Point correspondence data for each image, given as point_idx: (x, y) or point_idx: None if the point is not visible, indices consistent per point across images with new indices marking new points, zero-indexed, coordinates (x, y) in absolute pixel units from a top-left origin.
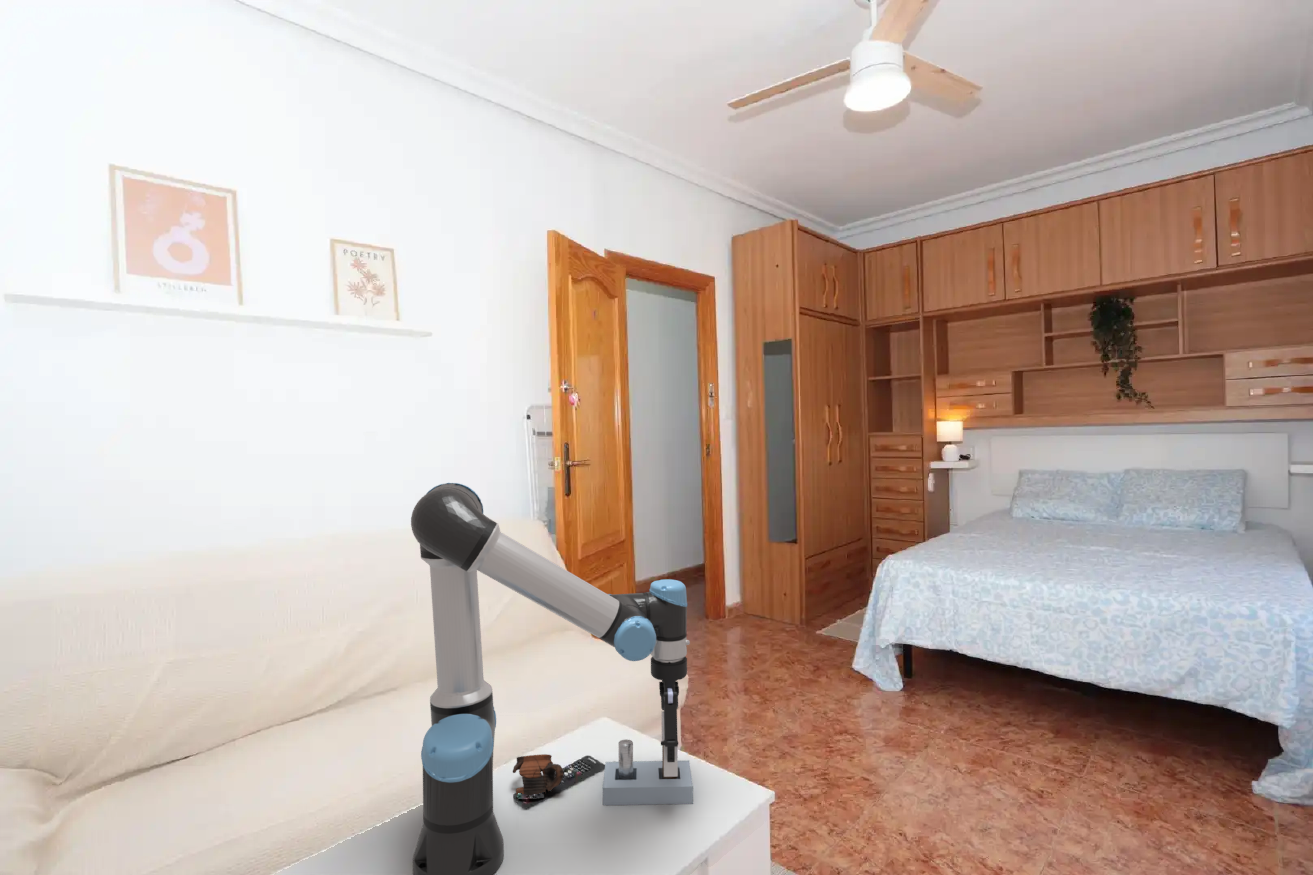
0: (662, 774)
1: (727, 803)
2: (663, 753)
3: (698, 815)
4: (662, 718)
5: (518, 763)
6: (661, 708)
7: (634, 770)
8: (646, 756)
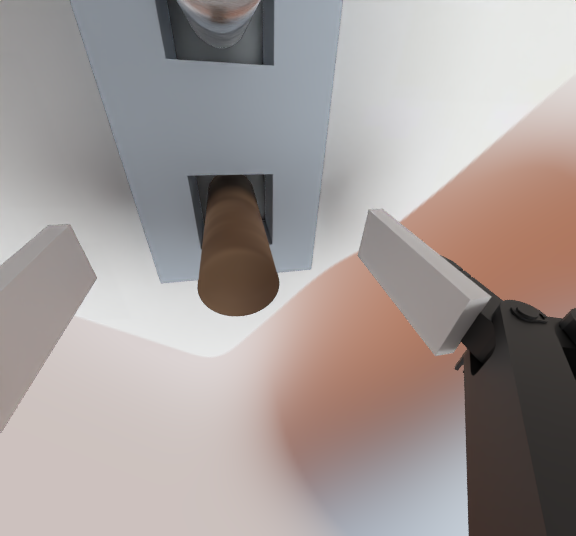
0: (227, 188)
1: (185, 318)
2: (215, 234)
3: (115, 266)
4: (439, 278)
5: None
6: (516, 305)
7: (272, 53)
8: (432, 118)
